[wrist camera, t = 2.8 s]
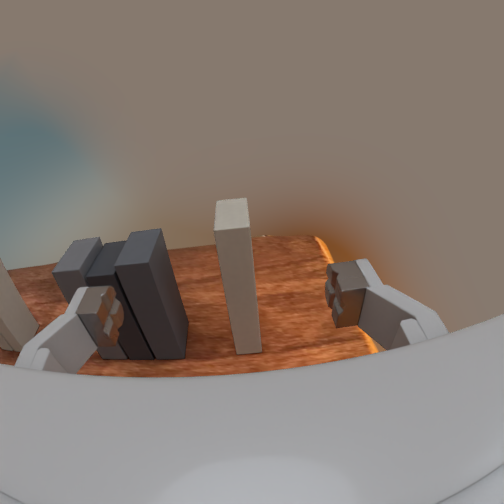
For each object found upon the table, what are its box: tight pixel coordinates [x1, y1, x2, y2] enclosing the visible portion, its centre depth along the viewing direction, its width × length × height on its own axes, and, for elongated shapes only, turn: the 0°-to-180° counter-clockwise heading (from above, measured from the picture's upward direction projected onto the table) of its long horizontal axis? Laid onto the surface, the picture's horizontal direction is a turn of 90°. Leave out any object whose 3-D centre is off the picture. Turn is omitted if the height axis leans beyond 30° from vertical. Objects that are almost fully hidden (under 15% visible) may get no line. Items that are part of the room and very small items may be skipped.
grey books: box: [52, 228, 189, 360], centre depth 27 cm, size 5×10×12 cm, turn 94°
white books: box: [0, 259, 39, 352], centre depth 26 cm, size 6×13×14 cm, turn 94°
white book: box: [214, 198, 262, 355], centre depth 26 cm, size 5×2×14 cm, turn 4°
